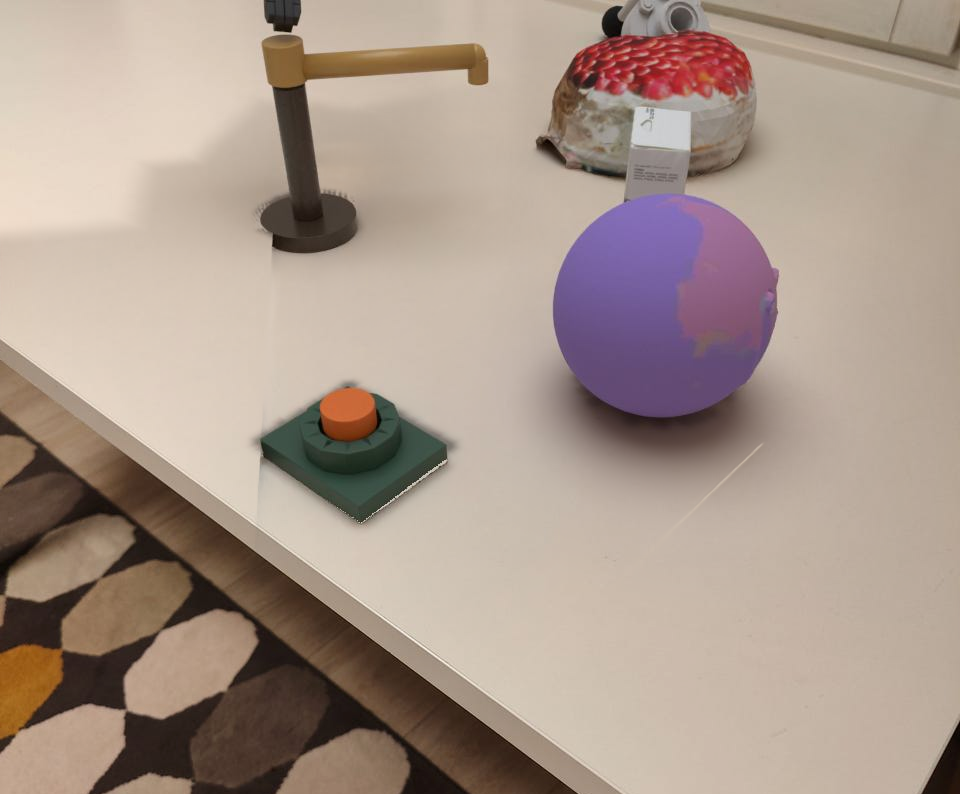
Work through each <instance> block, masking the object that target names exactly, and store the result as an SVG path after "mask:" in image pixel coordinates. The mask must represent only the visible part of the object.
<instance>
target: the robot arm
mask: <svg viewBox="0 0 960 794" xmlns="http://www.w3.org/2000/svg"><path fill="white" fill-rule="evenodd" d="M263 14H264V16H263V17H264V19H265V21H266V24H269V25H272V31H273V32H278V33H287V34H288V33H289V34H292V33H293V29H294V27H298V25H299V22H300V20H301V15H302V1H301V0H263Z"/></svg>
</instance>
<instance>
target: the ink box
mask: <svg viewBox="0 0 960 794" xmlns="http://www.w3.org/2000/svg"><path fill="white" fill-rule="evenodd" d="M690 153H691V112H690V111H677V110H667V109H658V108H650V107H642V106H641V107H636V108H635V113H634V120H633V127H632V134H631V142H630V150H629V158H628V167H627V175H626V178H625V184H624V194H623V203H625V202H627V201H630V200H633V199H636V198H639V197H643V196H648V195H655V194H683V195H685V193H686V186H687V185H686V184H687V179H688V177H687V173H688V166H689V159H690Z"/></svg>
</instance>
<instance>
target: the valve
mask: <svg viewBox="0 0 960 794" xmlns="http://www.w3.org/2000/svg"><path fill="white" fill-rule="evenodd" d="M701 4H702V1H701V0H627V1H626V2H625V4H624V5H614V6H611V7H610V8H608V9H607V10H606V11H605V12H604V14H603V15H602V17H601V30H602V32H603V34H604V35H605V36H606V38H607V39H609V38H612V37H621V36H624V35H636V36H654V37H655V36H661V35H666V34H673V33H677V32H679V31H685V30H693V31H705V32H708V33H711V27H710V22H709V20H708V16H707V14H706V13H705V10H704V9H703V7H702V6H701Z"/></svg>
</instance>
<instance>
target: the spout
mask: <svg viewBox="0 0 960 794" xmlns="http://www.w3.org/2000/svg"><path fill="white" fill-rule="evenodd" d="M304 46H305V45H304V40H303V38H302V37H301V36H299V35H296V34H276V35H271V36H268V37H266V38H264V39H263V40H262V41H261V51H262V55H263V61H264V68H265V74H266V81H267V83H268V85H270V86H271V87H272V86H274V87H280V88H288V87H295V86H299V85H302V84H304V83H305V84H306V83H307V82H308V81H311V80H312V81H313V80H326V79H327V80H328V79H343V78H344V79H345V78H356V77H359V78H360V77H373V76H387V75H400V74H401V75H403V74H418V73H431V72H432V73H433V72H445V71H446V72H447V71H449V72H450V71H461V70H463V71H464V70H467V83H468V84H469V85H472V86H484V85H487V84H488V83H489V57H488V56H487V53H486V50H485V48H484V47H483V46H482V45H481V44H479V43H475V42H473V43H458V44H442V45H441V44H440V45H425V46H410V47H394V48H380V49H377V48H376V49H364V50H363V49H361V50H350V51H346V50H345V51H332V52H330V51H329V52H317V53H315V52H314V53H306V52H305V47H304Z"/></svg>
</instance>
